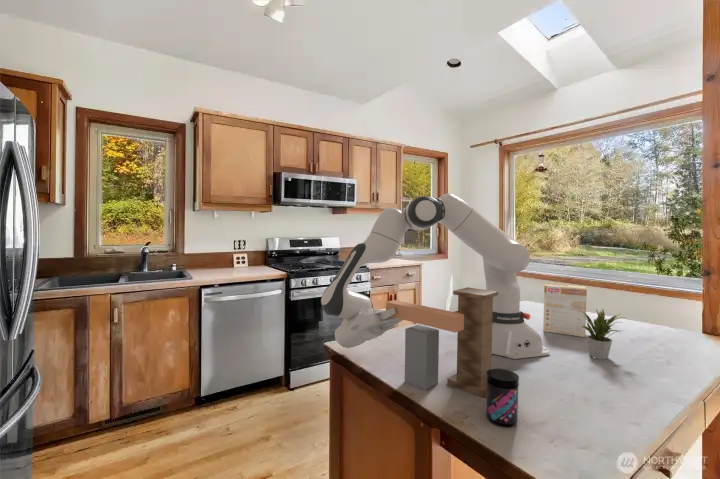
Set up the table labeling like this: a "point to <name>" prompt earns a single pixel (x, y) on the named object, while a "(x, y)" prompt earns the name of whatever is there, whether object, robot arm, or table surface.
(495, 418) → the supplement container
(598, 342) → the house plant
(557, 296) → the coffeecake box
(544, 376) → the table surface
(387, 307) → the terracotta beam
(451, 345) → the table surface
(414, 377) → the slate pillar
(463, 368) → the walnut tower
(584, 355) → the table surface
